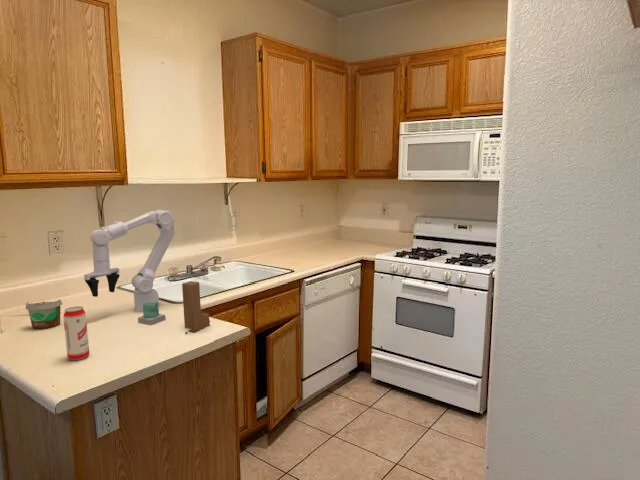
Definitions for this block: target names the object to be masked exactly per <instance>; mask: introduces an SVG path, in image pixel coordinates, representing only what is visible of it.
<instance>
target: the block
mask: <svg viewBox="0 0 640 480" xmlns="http://www.w3.org/2000/svg"><path fill="white" fill-rule="evenodd" d="M159 308H160V306H159V307H158V302H146V303H145V304H144V305H143V312H142V314H143V315H142V316H144V318H156V317H157V316H158V315H159V314H160V313H159V312H160V310H159Z"/></svg>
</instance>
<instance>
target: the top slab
mask: <svg viewBox="0 0 640 480" xmlns="http://www.w3.org/2000/svg"><path fill="white" fill-rule="evenodd" d="M164 321H166V315H165V314H161V313H159V315H158V316H157V317H156V318H144V316H143V315H142V316H139V317H137V323H138V324H143V325H148V326H153V325H156V324H159V323H161V322H164Z"/></svg>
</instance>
